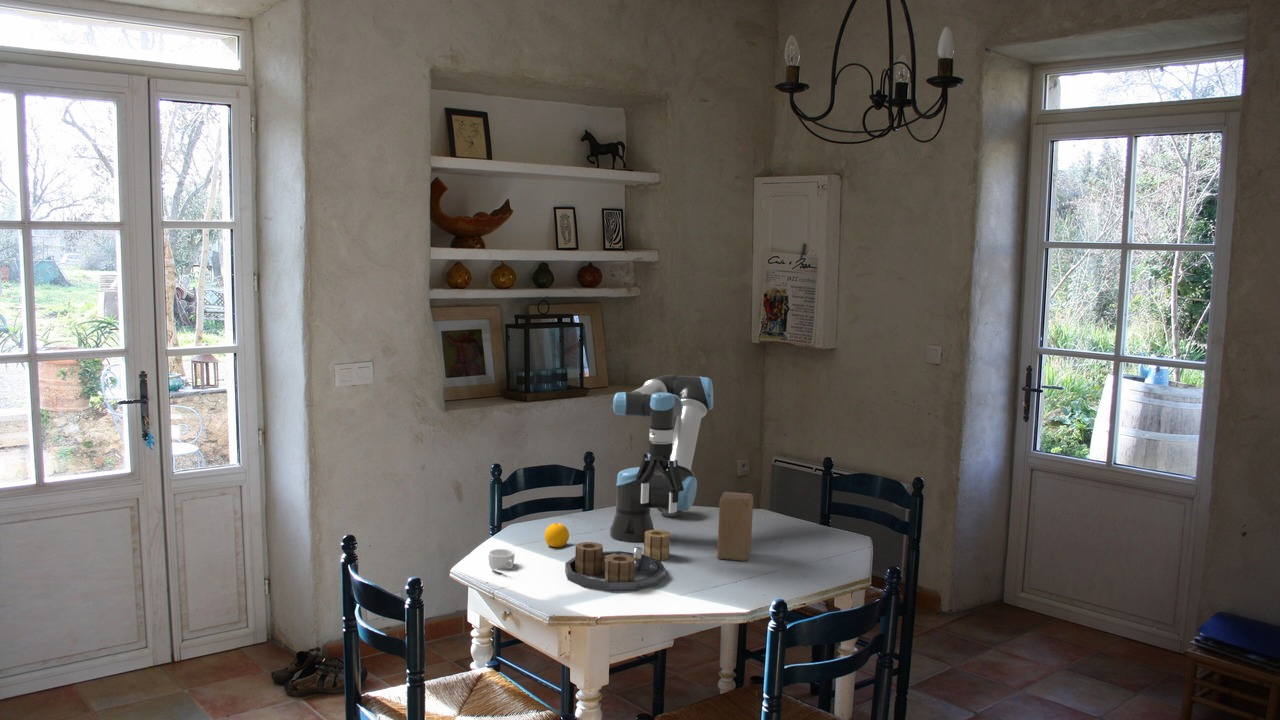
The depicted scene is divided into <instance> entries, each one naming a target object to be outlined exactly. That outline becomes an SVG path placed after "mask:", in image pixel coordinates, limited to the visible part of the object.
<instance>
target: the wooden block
mask: <svg viewBox="0 0 1280 720" xmlns="http://www.w3.org/2000/svg"><path fill="white" fill-rule="evenodd" d="M718 507H719V510H718V527H717V529H718V530H717V532H718V533H717V549H716V551H717V553H716V555H717V556H716V557H717V558H718V559H721V560H728V559H729V560H728V561H738V562H739V561H741V562H748V560H749V558H750V556H751V551H752V534H753V532H752V531H753V530H752V529H753V515H754V513H753V511H754V495H753V494H752V493H744V492H734V491H733V492H732V491H724V492H722V495H721V496H720V498H719V506H718Z"/></svg>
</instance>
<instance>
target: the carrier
mask: <svg viewBox="0 0 1280 720" xmlns="http://www.w3.org/2000/svg"><path fill="white" fill-rule="evenodd" d="M642 551H643V548H642V547H640V546H634V547H633V552H629V551H624V550H620V551H619V550H618V551H617V550H615V551H611V550H609V551H603V560H602V572H601V573H598V574H593V575H585V574H580V573H576V572H575V556H573V557H572V558H571V559H569V560H568V561H566V562H565V563H564V565H565V566H564V572H565V577H566V578H567V581H569V582H571V583H573V584H575V585H577V586H580V587H581V588H583V589H590V590H596V591H601V592H602V591H603V592H607V593H608V592H636V591H641V590H645V589H649V588H653V587H657V586H658V585H659V584H660V583H661V582H663V580H664V579H665V578H666V567H665V566H664V564H663V563H662V562H661V561H662V560H657V559H654V558H651V557H649V556H646V555H644V553H643V554H642ZM616 554H620V555H622V554H623V555H629V556H632V557H633V558H634V559H635V569H634V581H605V559H606V557H608V556H609V555H616Z"/></svg>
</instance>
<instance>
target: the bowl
mask: <svg viewBox="0 0 1280 720" xmlns="http://www.w3.org/2000/svg"><path fill="white" fill-rule="evenodd" d="M656 509H657V510H658V512H660V513H661V516H663V517H666V518H675V517H678V516H679V514H680V513H682V512H683V511H680V510H678V511H677V512H674V513H669V510H668V509H658V508H656Z"/></svg>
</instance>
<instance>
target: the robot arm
mask: <svg viewBox="0 0 1280 720" xmlns="http://www.w3.org/2000/svg"><path fill="white" fill-rule="evenodd" d="M612 401H613V402H612V408H613V412H614V414H615V415H617V416H618V415H619V416H625V417H627V416H630V417H642V418H643V417H644V418H649V434H648V436H649V439H648V440H649V442H648V452H647V453H643V455H642V461H641V464H640V466H637V467H630V468H625V469H623V470H620V471H619V472H618V473H617V476H616V477H617V478H616V484H615V485H616V492H615V493H616V495H615V496H616V497H615V498H616V502H615V503H616V504H615V515H614V518H613V520H612V524H611V526H610V528H609V531H610V532H609V535H610V537H611V538H613V539H615V540H618V541H622V542H623V541H624V542H634V543H635V542H636V543H637V542H644V536H645V532H646V531H649V530H655V528H654V525H653V523H654V522H653V519H652V516H651V509H657V508H658V509H668V510H669V513H674V512H677V511H678V510H680V511H682V512H686V511H688V510H690V509H691V508H692V507H693V505H694V502H695V499H696V495H697V490H698V481H697V480H698V479H697V478H696V477H695V473H694V472H693V471H692V465H693V460H694V456H695V451H696V445H697V441H698V437H699V436H698V435H699V431H700V427H701V422H702V418H704V417H705V416H706V415H707V413H708V411H710V410H713V409H714V388H713V382H712V379H711V378H710V377H706V376H705V377H704V376H691V375H689V376H688V375H679V374H678V375H676V374H667V375H661V376H657V377H654V378H651V379H648V380H647V381H645V382H644V384H643V385H642V386H640V387H639V388H637V389H635V390H632V391H630V392H626V391H622V392H616V393H615V394H614V396H613V400H612ZM675 418H676V419H675ZM674 419H675V424H674ZM655 471H656V472H657V471H658V472H659V473H655ZM658 509H657V510H658Z"/></svg>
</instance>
